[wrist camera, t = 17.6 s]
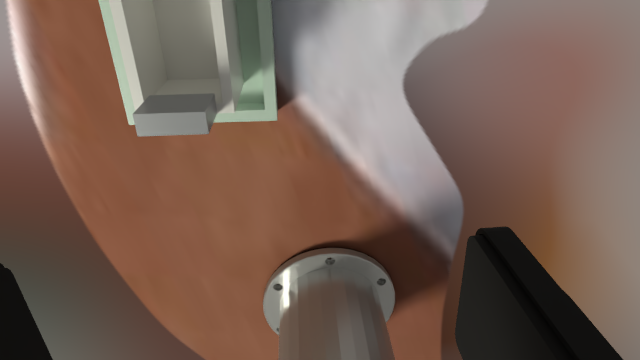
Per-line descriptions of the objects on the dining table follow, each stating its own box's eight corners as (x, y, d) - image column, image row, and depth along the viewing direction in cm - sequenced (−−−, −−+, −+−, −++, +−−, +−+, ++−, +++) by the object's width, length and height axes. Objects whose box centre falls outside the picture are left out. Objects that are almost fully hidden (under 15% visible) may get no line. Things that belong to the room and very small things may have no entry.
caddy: (244, 83, 30) (228, 133, 22) (163, 85, 29) (117, 137, 22) (227, -85, 25) (198, -97, 17) (130, -84, 24) (55, -96, 17)
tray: (277, 110, 31) (277, 120, 30) (138, 114, 31) (129, 124, 29) (263, -132, 24) (261, -137, 22) (81, -132, 24) (64, -138, 22)
